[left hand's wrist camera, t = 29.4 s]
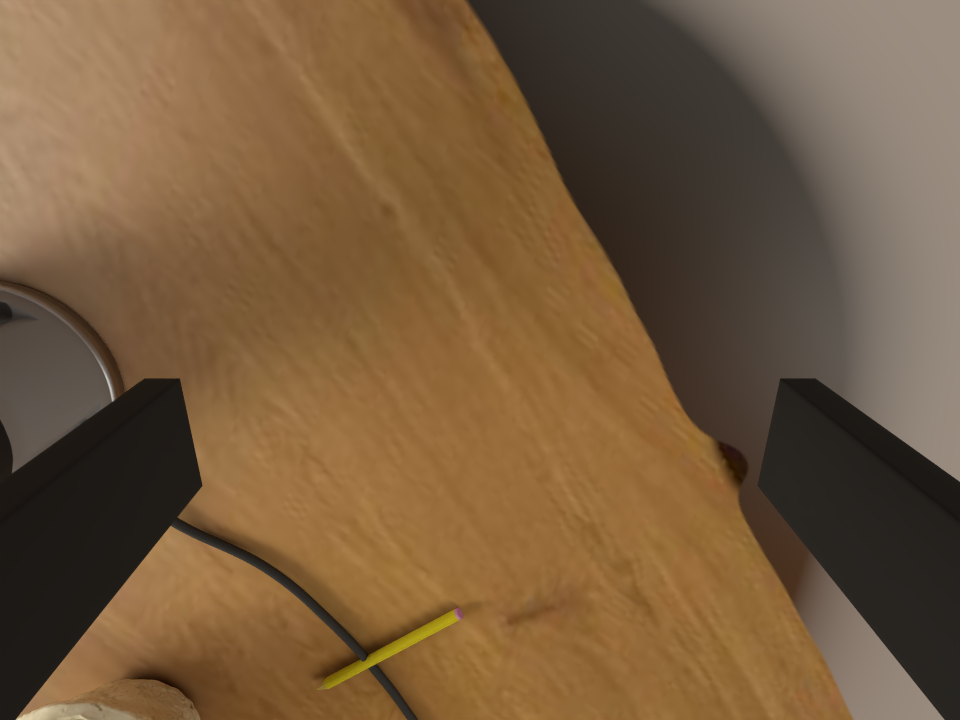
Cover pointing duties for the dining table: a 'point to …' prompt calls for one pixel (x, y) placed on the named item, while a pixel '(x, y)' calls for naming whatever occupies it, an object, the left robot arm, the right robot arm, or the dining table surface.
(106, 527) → the left robot arm
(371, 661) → the pencil
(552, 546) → the dining table surface
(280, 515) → the dining table surface
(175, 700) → the bowl
